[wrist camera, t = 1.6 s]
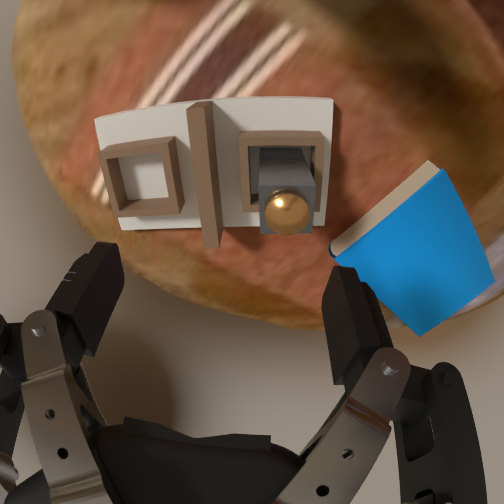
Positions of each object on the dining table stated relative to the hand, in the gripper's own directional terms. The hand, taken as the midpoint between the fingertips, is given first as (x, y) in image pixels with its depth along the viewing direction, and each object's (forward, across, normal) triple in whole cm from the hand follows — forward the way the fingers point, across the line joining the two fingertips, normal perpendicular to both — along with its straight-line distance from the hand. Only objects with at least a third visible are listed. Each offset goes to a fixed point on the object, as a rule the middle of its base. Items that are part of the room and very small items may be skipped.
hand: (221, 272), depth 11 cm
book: (+22, -26, +13) cm, 37 cm away
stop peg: (+20, -4, +3) cm, 20 cm away
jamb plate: (+21, +3, +4) cm, 22 cm away
